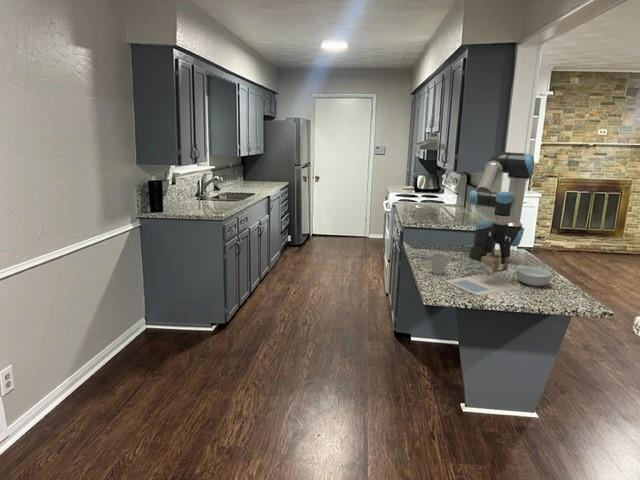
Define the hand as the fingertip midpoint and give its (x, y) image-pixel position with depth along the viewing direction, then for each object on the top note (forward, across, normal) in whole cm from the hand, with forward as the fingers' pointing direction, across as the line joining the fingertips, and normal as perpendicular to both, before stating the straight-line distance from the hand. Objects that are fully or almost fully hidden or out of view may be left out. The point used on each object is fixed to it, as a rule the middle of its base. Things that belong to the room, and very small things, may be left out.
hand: (493, 267), depth 227 cm
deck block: (+1, 0, 0) cm, 1 cm away
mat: (+8, 0, -8) cm, 11 cm away
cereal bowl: (+9, +9, +19) cm, 23 cm away
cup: (+9, -22, -17) cm, 29 cm away
